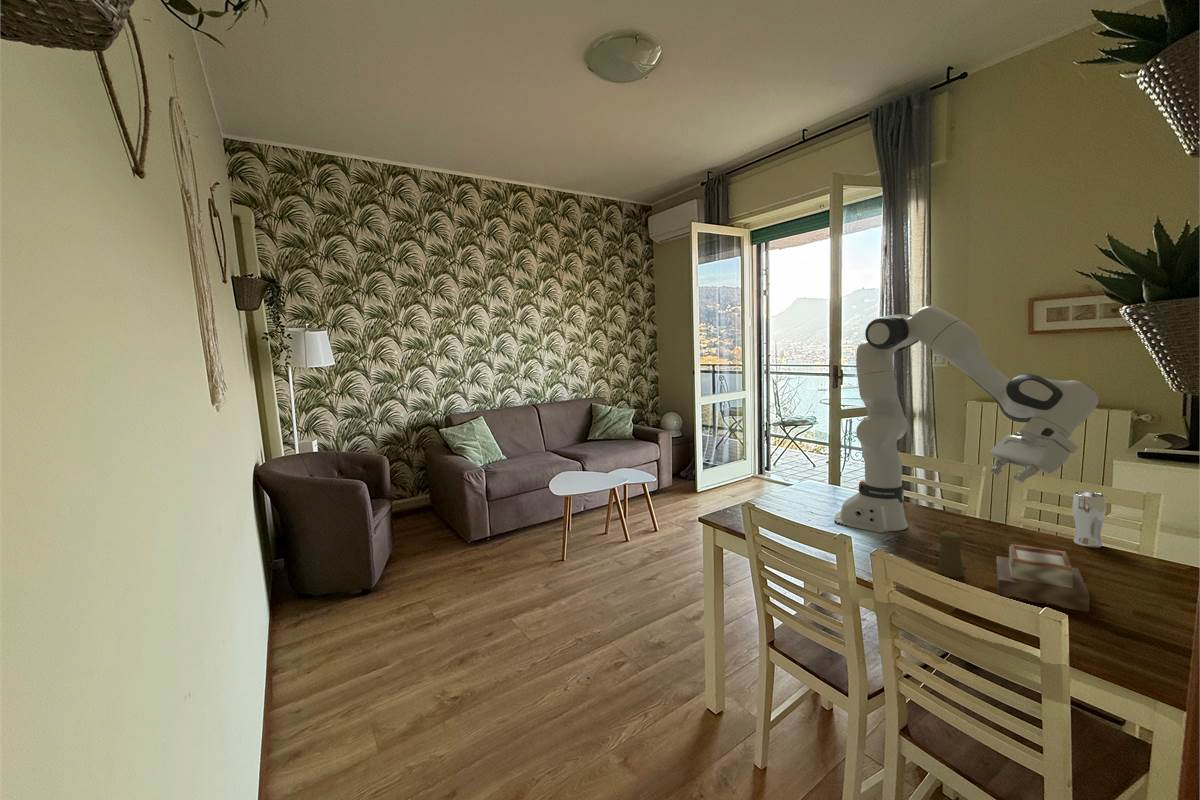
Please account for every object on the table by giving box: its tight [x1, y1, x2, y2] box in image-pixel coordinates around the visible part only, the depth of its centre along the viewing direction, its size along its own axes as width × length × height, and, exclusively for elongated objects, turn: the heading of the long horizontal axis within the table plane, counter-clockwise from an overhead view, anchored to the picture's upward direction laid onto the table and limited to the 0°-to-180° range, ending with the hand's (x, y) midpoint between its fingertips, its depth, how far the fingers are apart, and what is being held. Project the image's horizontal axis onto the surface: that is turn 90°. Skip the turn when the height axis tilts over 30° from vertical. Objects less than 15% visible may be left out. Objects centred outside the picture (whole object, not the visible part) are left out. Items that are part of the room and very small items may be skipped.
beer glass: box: [1071, 490, 1107, 549], centre depth 147 cm, size 7×7×15 cm
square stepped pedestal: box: [995, 543, 1090, 613], centre depth 124 cm, size 16×16×9 cm
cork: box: [936, 531, 965, 578], centre depth 135 cm, size 6×6×11 cm
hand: (1005, 476), depth 133 cm, fingers open, 8 cm apart
